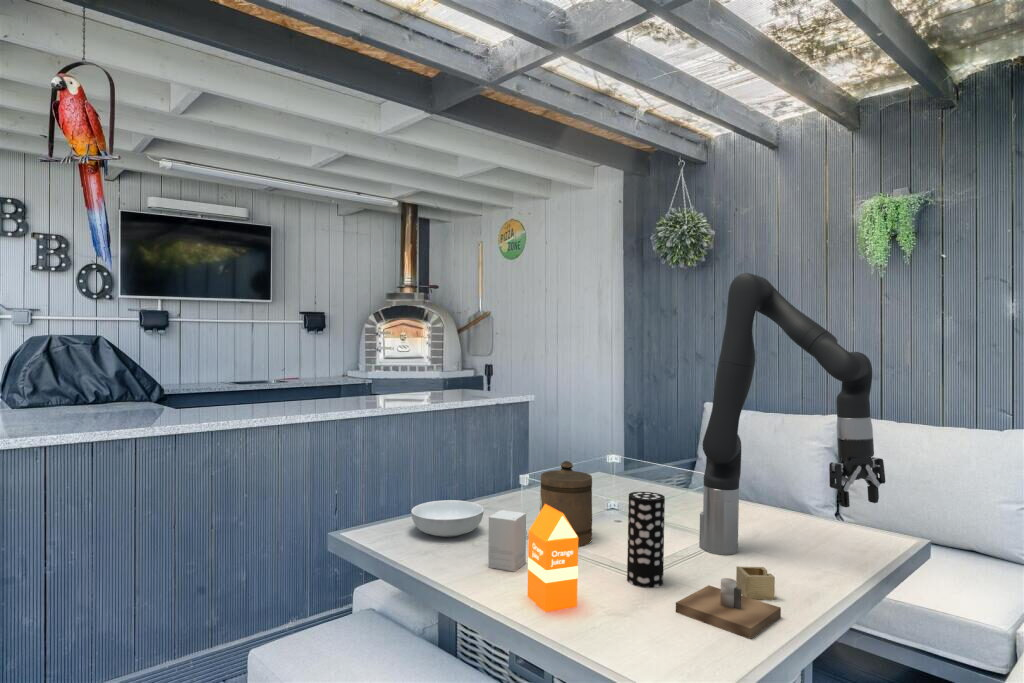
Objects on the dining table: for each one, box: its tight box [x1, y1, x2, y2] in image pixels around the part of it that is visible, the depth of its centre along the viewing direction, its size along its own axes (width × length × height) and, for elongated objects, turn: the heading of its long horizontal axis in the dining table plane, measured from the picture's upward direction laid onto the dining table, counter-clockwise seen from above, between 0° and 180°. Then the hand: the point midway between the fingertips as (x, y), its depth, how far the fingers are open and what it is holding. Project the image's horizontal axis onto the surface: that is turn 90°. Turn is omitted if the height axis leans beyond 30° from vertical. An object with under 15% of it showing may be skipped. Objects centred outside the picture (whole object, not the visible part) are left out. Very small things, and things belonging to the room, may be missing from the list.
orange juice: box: [527, 504, 579, 613], centre depth 135 cm, size 8×9×20 cm
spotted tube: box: [626, 491, 666, 589], centre depth 147 cm, size 8×8×20 cm
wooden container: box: [539, 460, 593, 548], centre depth 178 cm, size 15×15×22 cm
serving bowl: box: [410, 499, 485, 538], centre depth 182 cm, size 21×21×7 cm
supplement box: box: [487, 509, 527, 573], centre depth 156 cm, size 7×7×13 cm
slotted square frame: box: [735, 565, 776, 601], centre depth 141 cm, size 6×6×5 cm
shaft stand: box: [675, 577, 782, 640], centre depth 130 cm, size 16×14×7 cm
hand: (859, 504), depth 149 cm, fingers open, 8 cm apart
